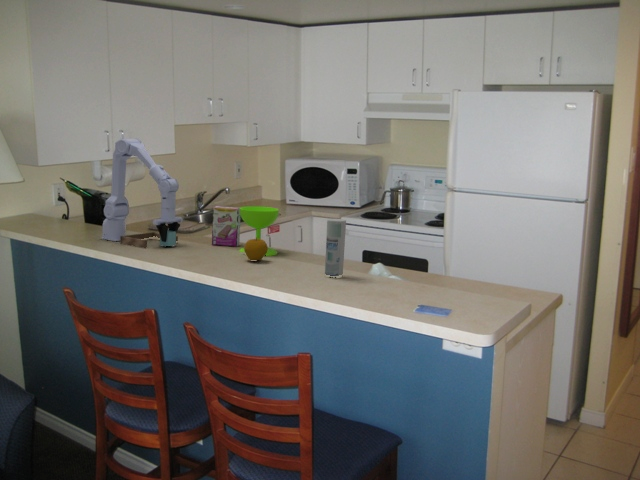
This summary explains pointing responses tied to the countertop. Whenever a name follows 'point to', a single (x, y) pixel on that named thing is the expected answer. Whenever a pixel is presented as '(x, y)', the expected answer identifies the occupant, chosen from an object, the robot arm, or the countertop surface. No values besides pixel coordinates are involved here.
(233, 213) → the candy bar box
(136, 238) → the walnut crate
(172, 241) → the teal block
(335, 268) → the spray can
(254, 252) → the apple
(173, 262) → the countertop surface
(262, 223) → the wineglass
